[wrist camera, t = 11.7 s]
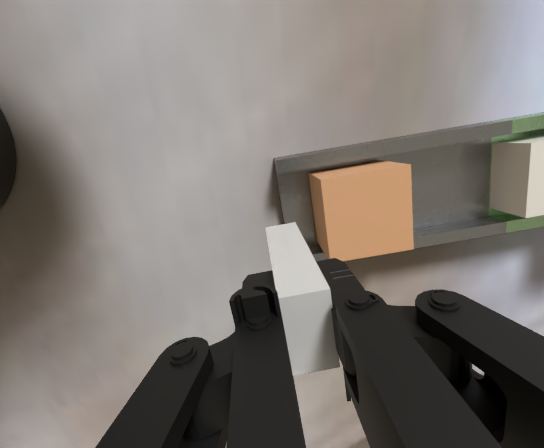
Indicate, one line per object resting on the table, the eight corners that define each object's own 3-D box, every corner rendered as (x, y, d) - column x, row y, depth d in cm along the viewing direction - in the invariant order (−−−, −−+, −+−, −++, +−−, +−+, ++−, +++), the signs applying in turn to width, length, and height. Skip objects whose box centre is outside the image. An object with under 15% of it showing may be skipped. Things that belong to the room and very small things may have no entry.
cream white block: (489, 208, 26) (525, 218, 22) (492, 142, 24) (531, 142, 21) (534, 200, 26) (577, 209, 22) (540, 134, 24) (586, 133, 21)
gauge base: (289, 254, 27) (299, 292, 21) (273, 158, 25) (279, 164, 18) (583, 205, 27) (693, 226, 20) (597, 103, 25) (727, 87, 18)
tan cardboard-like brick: (316, 240, 26) (330, 263, 21) (308, 172, 24) (320, 179, 19) (384, 229, 26) (413, 249, 21) (380, 160, 24) (411, 164, 19)
